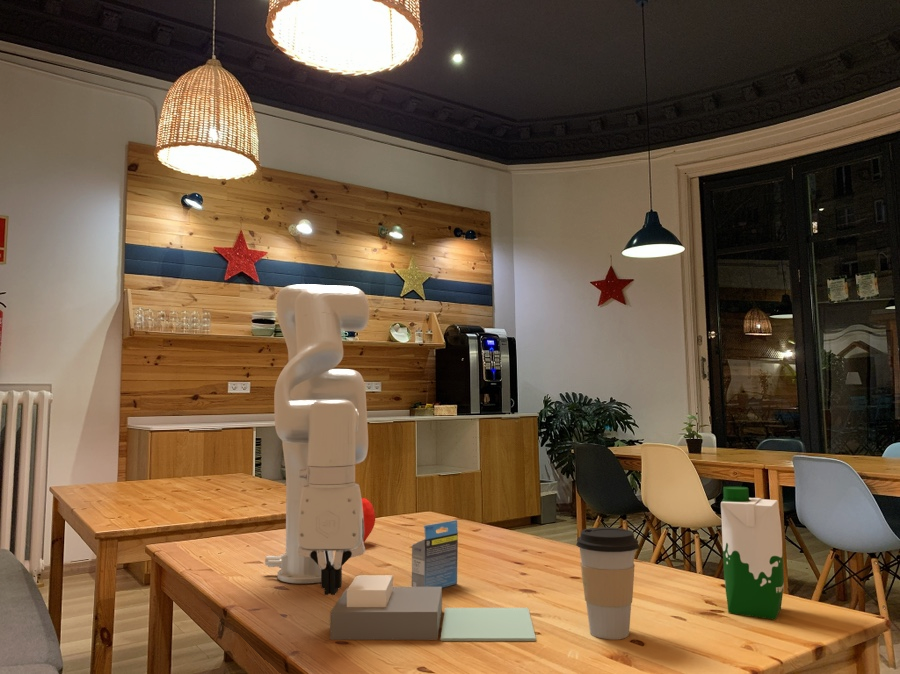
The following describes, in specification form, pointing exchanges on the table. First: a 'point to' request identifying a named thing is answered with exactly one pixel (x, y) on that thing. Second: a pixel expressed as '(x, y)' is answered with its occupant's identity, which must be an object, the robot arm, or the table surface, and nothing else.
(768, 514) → the milk carton
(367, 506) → the apple
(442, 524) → the label tape box
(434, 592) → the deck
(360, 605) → the tile
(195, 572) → the table surface
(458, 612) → the mat
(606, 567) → the coffee cup
